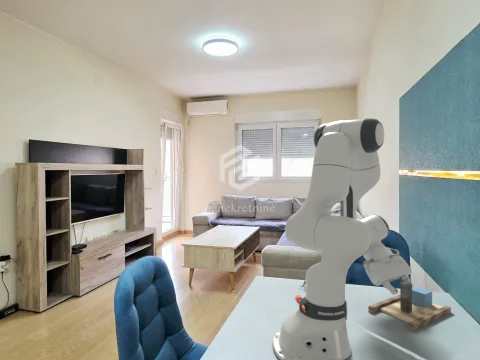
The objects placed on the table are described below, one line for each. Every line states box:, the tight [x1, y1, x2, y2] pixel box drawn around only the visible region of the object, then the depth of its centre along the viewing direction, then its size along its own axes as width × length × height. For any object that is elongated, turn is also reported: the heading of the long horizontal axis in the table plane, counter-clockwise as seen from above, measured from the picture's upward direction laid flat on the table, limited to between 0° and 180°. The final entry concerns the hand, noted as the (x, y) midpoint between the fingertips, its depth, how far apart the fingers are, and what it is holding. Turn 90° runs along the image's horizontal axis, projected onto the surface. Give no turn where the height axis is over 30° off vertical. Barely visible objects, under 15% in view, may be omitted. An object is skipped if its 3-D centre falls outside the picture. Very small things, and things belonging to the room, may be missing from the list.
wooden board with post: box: [379, 280, 443, 324], centre depth 107 cm, size 20×12×11 cm, turn 121°
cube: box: [412, 286, 433, 308], centre depth 111 cm, size 5×5×5 cm
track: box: [367, 294, 452, 332], centre depth 107 cm, size 24×16×3 cm, turn 121°
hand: (403, 290), depth 106 cm, fingers open, 8 cm apart
